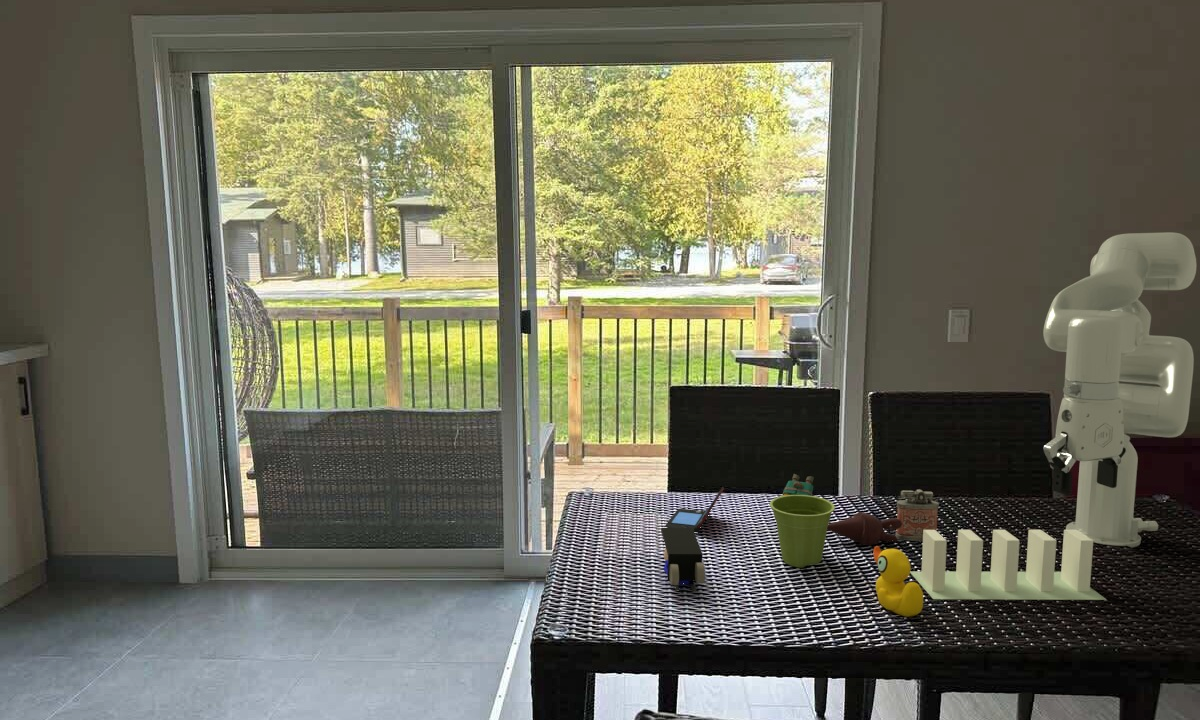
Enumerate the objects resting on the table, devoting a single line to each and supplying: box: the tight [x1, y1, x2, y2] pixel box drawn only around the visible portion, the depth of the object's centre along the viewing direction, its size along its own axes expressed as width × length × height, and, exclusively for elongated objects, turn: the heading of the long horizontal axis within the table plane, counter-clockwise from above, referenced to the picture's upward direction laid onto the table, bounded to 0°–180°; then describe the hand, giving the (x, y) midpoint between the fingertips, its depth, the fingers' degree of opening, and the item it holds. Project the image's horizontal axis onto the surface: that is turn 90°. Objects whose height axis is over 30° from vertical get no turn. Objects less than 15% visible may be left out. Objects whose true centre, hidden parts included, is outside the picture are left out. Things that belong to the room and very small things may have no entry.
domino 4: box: [1025, 529, 1057, 591], centre depth 129 cm, size 2×5×9 cm, turn 177°
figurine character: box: [660, 527, 706, 592], centre depth 136 cm, size 7×8×15 cm
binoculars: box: [781, 473, 814, 496], centre depth 165 cm, size 9×9×10 cm
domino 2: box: [955, 529, 984, 591], centre depth 129 cm, size 2×5×9 cm, turn 177°
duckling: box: [873, 545, 924, 618], centre depth 122 cm, size 11×5×10 cm, turn 15°
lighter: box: [895, 488, 940, 542], centre depth 153 cm, size 8×3×10 cm, turn 84°
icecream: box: [827, 511, 902, 547], centre depth 150 cm, size 7×8×15 cm
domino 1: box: [921, 530, 948, 591], centre depth 129 cm, size 2×5×9 cm, turn 178°
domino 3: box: [990, 529, 1020, 591], centre depth 129 cm, size 2×5×9 cm, turn 178°
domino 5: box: [1060, 529, 1094, 591], centre depth 128 cm, size 2×5×9 cm, turn 177°
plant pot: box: [769, 495, 836, 569], centre depth 142 cm, size 12×12×11 cm
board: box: [910, 570, 1107, 601], centre depth 130 cm, size 28×11×1 cm, turn 87°
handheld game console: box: [664, 486, 725, 532], centre depth 164 cm, size 12×11×7 cm
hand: (1084, 489), depth 127 cm, fingers open, 9 cm apart
